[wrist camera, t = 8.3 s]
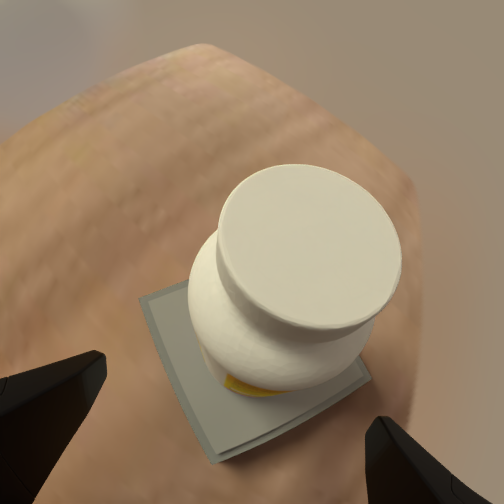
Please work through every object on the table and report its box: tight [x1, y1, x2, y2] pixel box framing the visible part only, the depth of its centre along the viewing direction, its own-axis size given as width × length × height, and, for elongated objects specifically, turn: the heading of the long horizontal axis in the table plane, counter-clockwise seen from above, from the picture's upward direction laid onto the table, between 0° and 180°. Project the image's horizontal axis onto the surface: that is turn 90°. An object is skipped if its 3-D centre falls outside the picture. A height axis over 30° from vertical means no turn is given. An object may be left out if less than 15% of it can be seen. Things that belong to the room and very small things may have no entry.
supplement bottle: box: [188, 164, 402, 397], centre depth 12 cm, size 7×7×13 cm
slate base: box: [138, 279, 372, 465], centre depth 19 cm, size 12×12×2 cm
